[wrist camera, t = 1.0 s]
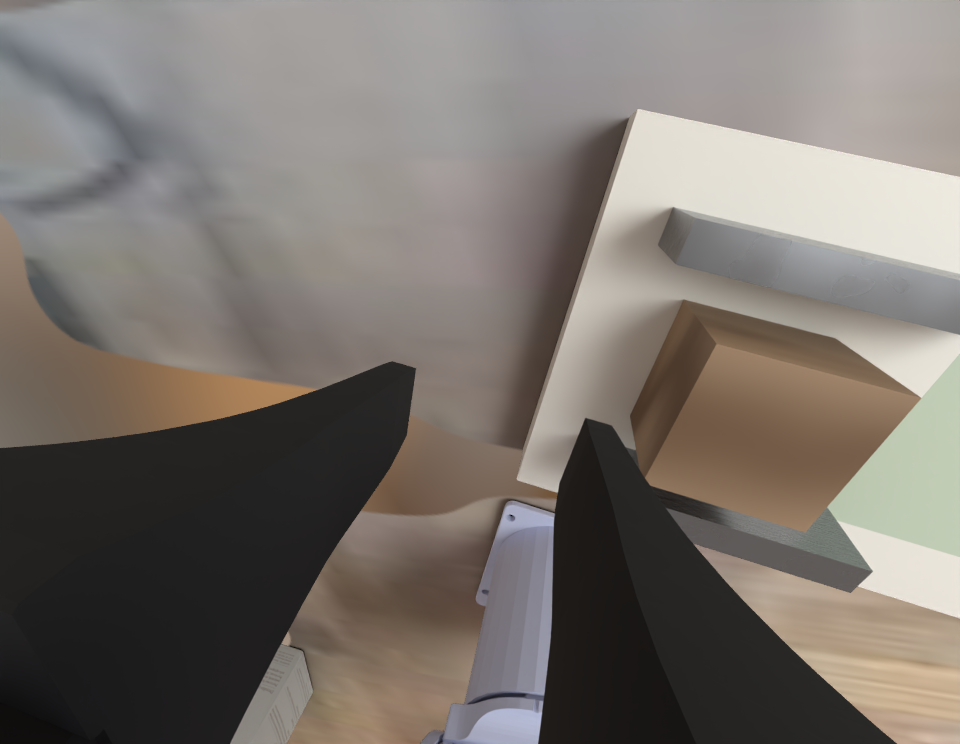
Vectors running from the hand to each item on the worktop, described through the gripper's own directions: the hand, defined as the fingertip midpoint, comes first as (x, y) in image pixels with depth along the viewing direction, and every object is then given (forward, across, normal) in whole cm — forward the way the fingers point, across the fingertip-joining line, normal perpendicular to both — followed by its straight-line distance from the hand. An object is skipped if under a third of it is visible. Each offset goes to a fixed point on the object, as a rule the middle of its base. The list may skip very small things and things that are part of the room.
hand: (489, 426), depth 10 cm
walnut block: (+7, -8, 0) cm, 10 cm away
